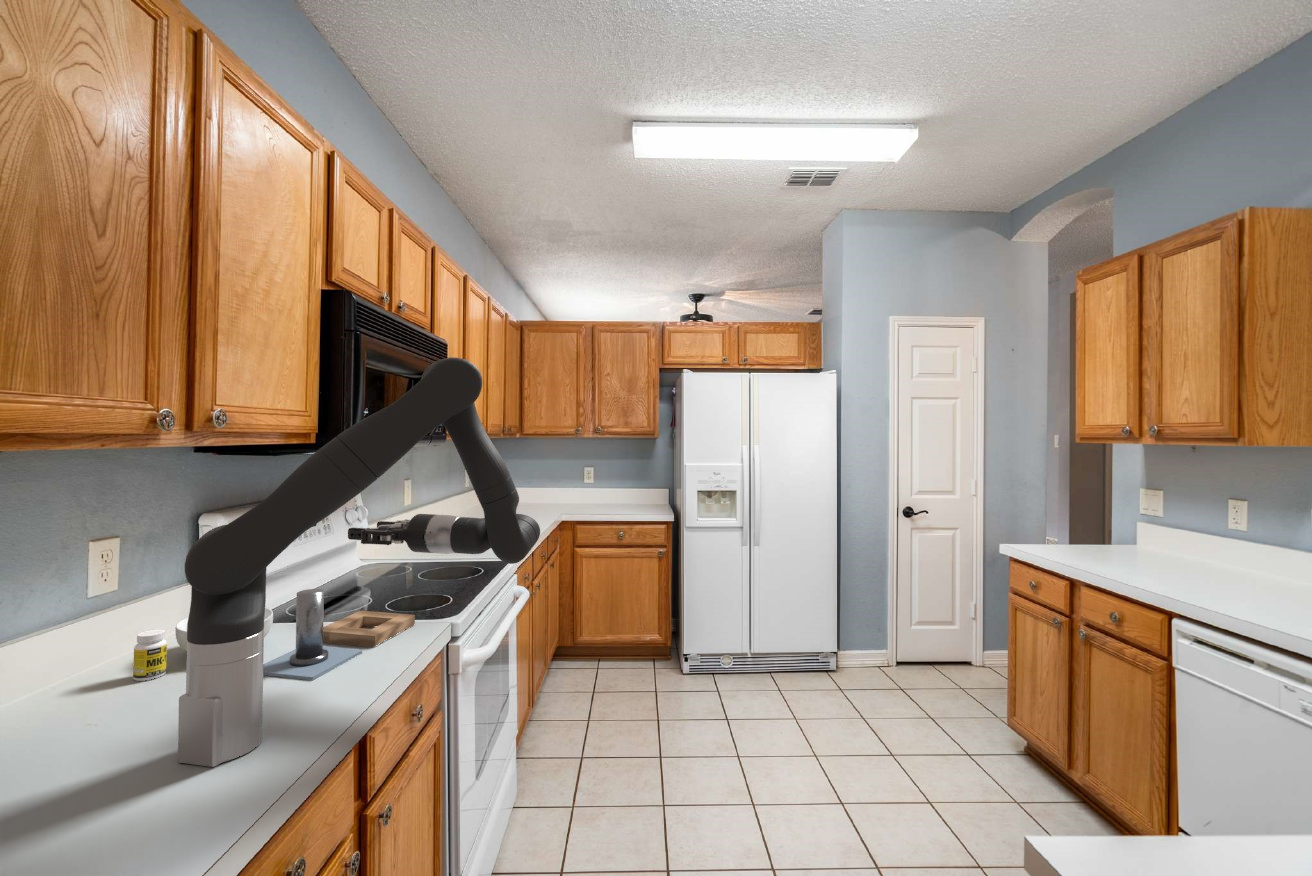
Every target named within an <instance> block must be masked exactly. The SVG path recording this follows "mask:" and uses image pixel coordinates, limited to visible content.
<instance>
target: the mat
mask: <svg viewBox="0 0 1312 876" xmlns="http://www.w3.org/2000/svg"><path fill="white" fill-rule="evenodd" d="M323 649H325V650H327V651H328V659H327V660H325V661H324V662H321V663H319V664H315V665H311V666H303V667H297V666H292V665H290V657H291V656H292V655H293V654H295V653H296V648H295V649H293V650H291V651H288V652H286V653H284V654H282V655H280V656H277V657H276V658H273V659H271V660H269V661H267V662H265V663H263V676H267V675H268V677H275V678H276V677H278V678H288V679H295V680H303V681H304V680H306V681H314V680H316V679H318V678H319V676H320V677H322V676H323V675H325V674H327V673H328V671H329V672H330V670H331V671H332V670H334V669H336V668H337V666H338V667H339V665H340V666H341V665H343V664H346V663H347V662H349V661H350V660H352V659H355V658H356V657H358V656H359V655H361V654H363V650H362V649H352V648H344V647H343V648H342V647H333V646H332V647H331V646H324V645H323ZM357 655H358V656H357ZM355 656H356V657H355ZM351 658H352V659H351ZM348 660H349V661H348ZM335 667H336V668H335Z"/></svg>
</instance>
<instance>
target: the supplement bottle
mask: <svg viewBox="0 0 1312 876" xmlns="http://www.w3.org/2000/svg"><path fill="white" fill-rule="evenodd" d="M165 633H166V632H165V630H164V629H150V630H146V631H142V632H140V633H138V634H137V635H136V643H137V644H136V645H135V646H134V647H133V665H132V666H133V669H132V671H133V674H132V675H133V677H132V678H133V680H134V681H137V682H145V680H147V681H152V680H155V679H154V678H156V679H159V678H161V677H162V676H165V674H166V673H167V660H168V659H167V657H168V655H167V654H168V653H167V652H168V642H167V640H166V639H165V638H166V634H165ZM160 676H161V677H160ZM158 677H159V678H158ZM151 679H152V680H151Z"/></svg>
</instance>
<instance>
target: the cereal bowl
mask: <svg viewBox="0 0 1312 876" xmlns="http://www.w3.org/2000/svg"><path fill="white" fill-rule="evenodd" d="M188 618H189V616H188V617H186V618H184V619H181V620H180V621H178V623H177V624H176V625H175V639H176V643H177V644H178V645H179V647H180V648H181V649H183V650H184V651H185V652H187V623H188ZM273 622H274V613H273V610H272V609H271V608H267V607H265V616H264V638H265V637H267V635H268V634H269V633H270V631H271V629H272V627H273Z"/></svg>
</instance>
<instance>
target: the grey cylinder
mask: <svg viewBox="0 0 1312 876" xmlns="http://www.w3.org/2000/svg"><path fill="white" fill-rule="evenodd" d="M324 598H325V590H324V589H322V588H308V589H303V590H300V591H298V592H296V607H295V608H296V610H295V611H296V612H295V614H296V617H295V649H296V653H295V654H293V655H292V656H291V657H290V665H292V666H297V667H303V666H311V665H315V664H319V663H321V662H324V661H325V660H327V659H328V651H327V650H325V649H323V646H324V642H323V627H324V614H325V613H324V612H325V611H324V607H325V606H324V603H325V601H324V600H325V599H324Z"/></svg>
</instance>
